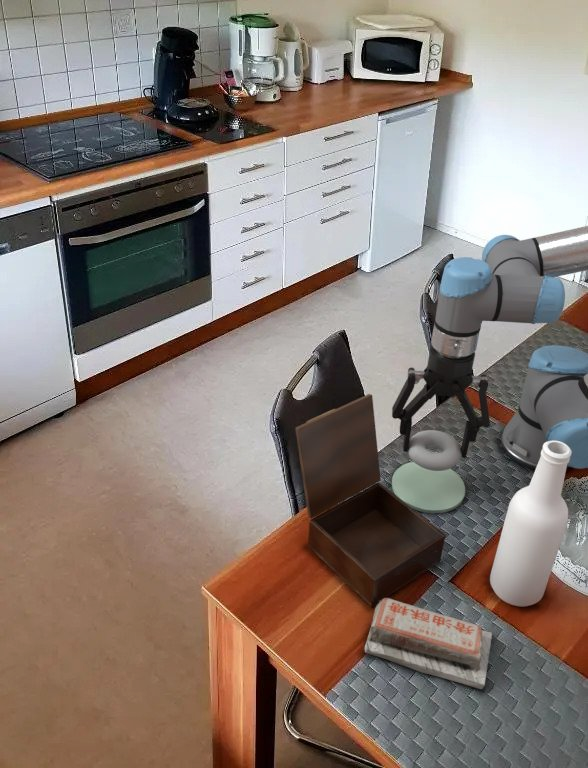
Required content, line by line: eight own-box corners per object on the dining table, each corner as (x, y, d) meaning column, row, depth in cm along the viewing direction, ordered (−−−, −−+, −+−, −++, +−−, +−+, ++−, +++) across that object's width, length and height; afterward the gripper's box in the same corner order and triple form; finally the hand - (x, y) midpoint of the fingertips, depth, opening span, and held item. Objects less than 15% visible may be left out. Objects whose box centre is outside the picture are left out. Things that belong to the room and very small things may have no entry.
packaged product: (365, 634, 108) (381, 584, 116) (362, 654, 111) (378, 604, 119) (489, 672, 104) (497, 617, 112) (483, 692, 107) (491, 637, 114)
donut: (469, 456, 139) (423, 433, 144) (472, 442, 137) (426, 419, 142) (442, 483, 132) (395, 458, 137) (445, 468, 130) (398, 443, 135)
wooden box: (440, 562, 127) (445, 534, 123) (371, 608, 118) (375, 580, 115) (375, 508, 137) (379, 481, 133) (307, 547, 129) (309, 519, 125)
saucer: (473, 478, 145) (474, 475, 144) (451, 523, 134) (452, 520, 134) (406, 455, 150) (407, 452, 149) (380, 496, 140) (380, 493, 139)
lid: (372, 394, 126) (352, 387, 130) (298, 429, 118) (279, 420, 122) (380, 480, 133) (362, 471, 137) (311, 518, 124) (293, 508, 128)
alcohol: (549, 581, 124) (596, 442, 107) (533, 617, 118) (580, 476, 101) (499, 559, 128) (536, 421, 111) (481, 593, 121) (517, 453, 104)
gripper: (385, 353, 122) (372, 456, 135) (524, 366, 120) (498, 469, 133) (386, 330, 128) (374, 431, 141) (518, 342, 126) (493, 443, 139)
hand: (434, 450), depth 137 cm, fingers closed on donut, 10 cm apart
